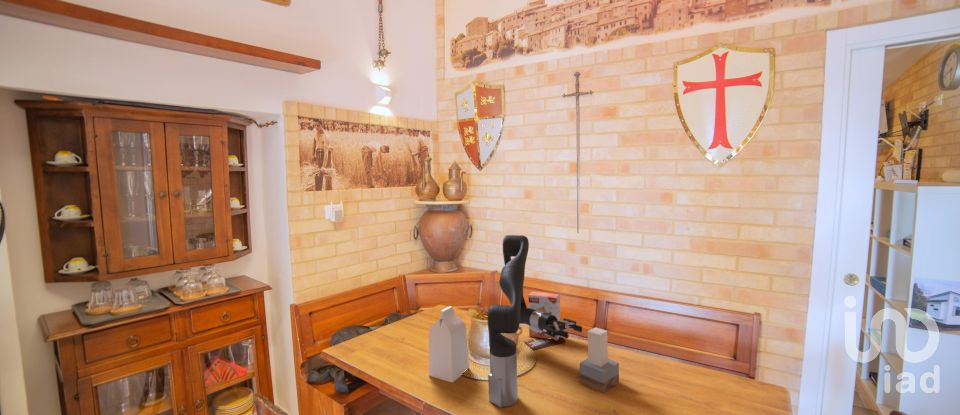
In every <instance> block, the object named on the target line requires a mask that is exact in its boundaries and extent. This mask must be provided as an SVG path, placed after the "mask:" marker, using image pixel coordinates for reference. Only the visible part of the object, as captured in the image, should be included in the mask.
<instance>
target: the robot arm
mask: <svg viewBox="0 0 960 415" xmlns="http://www.w3.org/2000/svg"><path fill="white" fill-rule="evenodd" d="M529 246H530V241H529V238H528V237H527V236H526V235H518V234H515V235H514V234H507V235H504V237H503V239H502V255H503V256H502V257H503V262H504V263H503V264H504V266H503V267H502V268H501V270H500V277H499V282H498V283H499V287H500V289H501V291H502V292H503V294H504V295H505V297H506V298H507V299H508V300H509V303H510V305H509V304H507V305H505V304H502V305H501V304H492V305H490V306H489V308H488V310H487V316H486V317H487V318H486V319H487V331H488V343H489V346H488V347H489V370H490V371H489V372H490V373H488V375H487V376H488V377H487V378H488V383H487V384H488V401H489V402H491V403H492V404H494V405H495V406H497V407H498V408H500V409H501V408H503V407H506V408H507V407H510V406H514V405H515V404H517V402H518V400H519V399H518V398H519V397H518V363H517V361H518V358H517V356H518V355H517V344H516V342H515V340H513V339H511V338H509V337H507V336H505V335H503V334H512V335H513V334H516V333H518V331H519V329H520V324H521V325H522V324H524V325H527V326H529V325H530V326H533V327H534V328H536V329H539V330H541V331H543V333H545V334H547V335H550V336H552V337H555V336H556V335H557V336H560V337H561V338H564V339H569V338H570V337H569V332H568V331H570V330H573V331H575V332H579V333H582V332H583V326H581V325H579V324H577V321H576V320H572V319H569V318H565V317H564V318H563V320H561V319H560V320H557V318H556V317H555V316H554V315H552V314H548V313H545V312H542V311H537V310H534V309H531V308H529V307H527V303H526V300H525V297H524V284H525V283H524V282H525V274H526V273H525V269H526V262H527V258H528V252H529Z"/></svg>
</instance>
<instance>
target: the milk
mask: <svg viewBox="0 0 960 415" xmlns="http://www.w3.org/2000/svg"><path fill="white" fill-rule="evenodd" d="M469 358H470V356H469V348H468V337H467V325H466V323H465V322H464V321H463V320H462V319H461V317H460V316H459V315H458V314H456V313H455V310H454V307H453V306H451V305H450V306H448V307H445V308H444V309H441V310H440V313H439V318H438V319H437V321H436V322H434V323H433V324H432V325H431V326H430V328H429V331H428V377H433V378H436V379H439V380H442V381H445V382H449V383H452V384H453V383H454V382H455V381H457V379H459V378H460V377H462V376H463V374H462V373H463V372H464V371H465V370H466V369H468V368H469V369H470V359H469Z"/></svg>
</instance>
